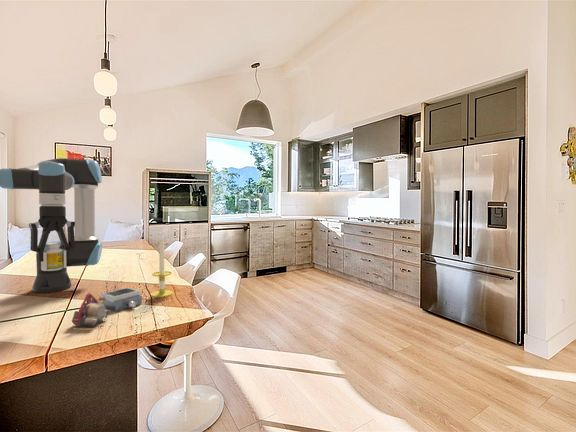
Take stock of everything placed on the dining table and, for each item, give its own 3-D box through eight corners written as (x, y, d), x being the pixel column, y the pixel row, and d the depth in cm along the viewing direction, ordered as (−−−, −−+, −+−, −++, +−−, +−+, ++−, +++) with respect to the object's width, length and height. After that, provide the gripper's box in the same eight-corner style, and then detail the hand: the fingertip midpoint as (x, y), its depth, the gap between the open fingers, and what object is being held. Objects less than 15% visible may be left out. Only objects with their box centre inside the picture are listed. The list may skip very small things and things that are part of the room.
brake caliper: (81, 310, 112) (100, 286, 111) (104, 328, 112) (123, 304, 112) (57, 323, 100) (78, 295, 100) (84, 342, 101) (105, 315, 100)
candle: (146, 293, 141) (146, 237, 140) (167, 289, 149) (167, 235, 147) (156, 298, 134) (155, 239, 133) (177, 294, 142) (176, 237, 141)
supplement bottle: (46, 268, 111) (46, 242, 111) (64, 267, 113) (64, 242, 113) (42, 271, 106) (41, 244, 106) (60, 270, 108) (60, 244, 108)
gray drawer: (99, 306, 124) (99, 293, 124) (125, 298, 133) (125, 286, 133) (120, 313, 116) (119, 299, 116) (146, 305, 126) (146, 292, 126)
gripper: (24, 205, 99) (26, 275, 100) (85, 205, 114) (86, 265, 115) (16, 205, 103) (17, 272, 104) (76, 205, 118) (77, 263, 119)
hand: (54, 268), depth 110 cm, fingers closed on supplement bottle, 5 cm apart
